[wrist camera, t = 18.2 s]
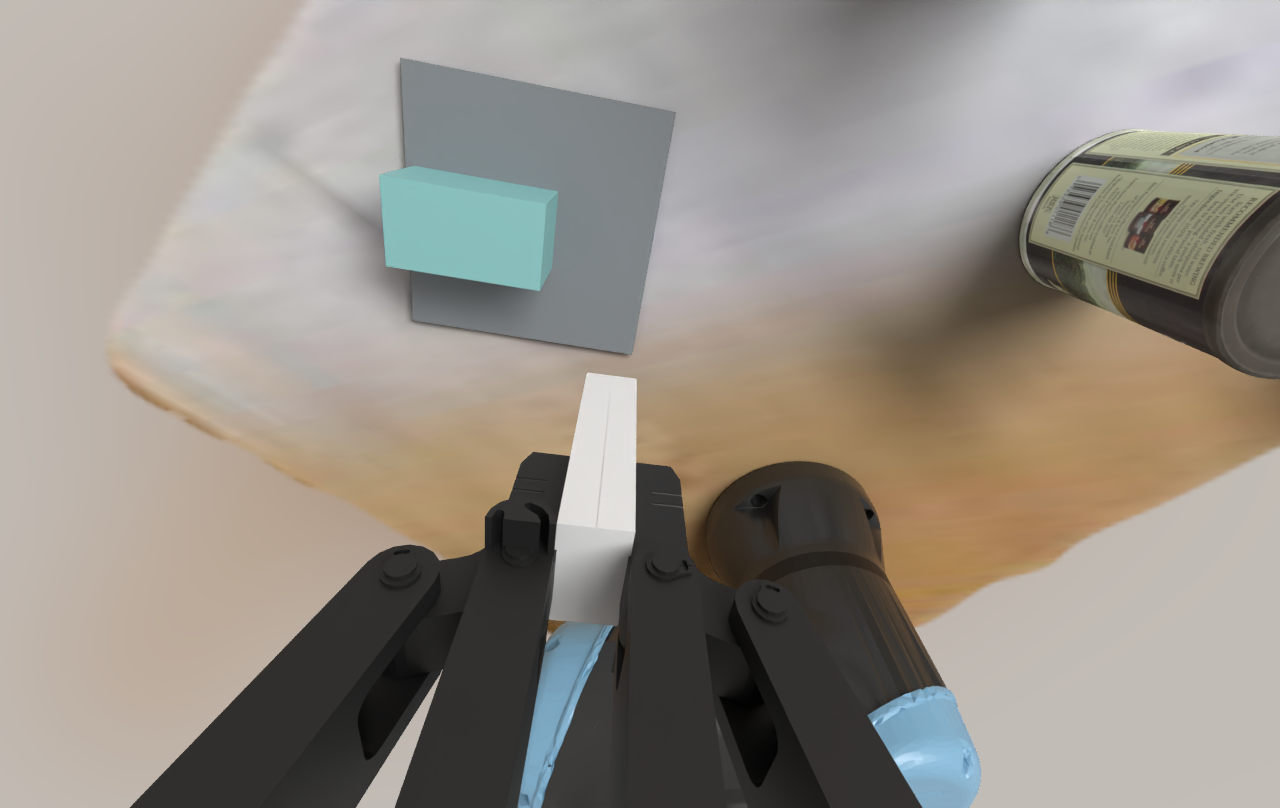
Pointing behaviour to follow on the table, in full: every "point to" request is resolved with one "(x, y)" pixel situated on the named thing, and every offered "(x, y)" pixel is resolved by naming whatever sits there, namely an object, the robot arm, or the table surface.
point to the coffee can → (1169, 238)
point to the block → (468, 227)
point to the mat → (554, 160)
